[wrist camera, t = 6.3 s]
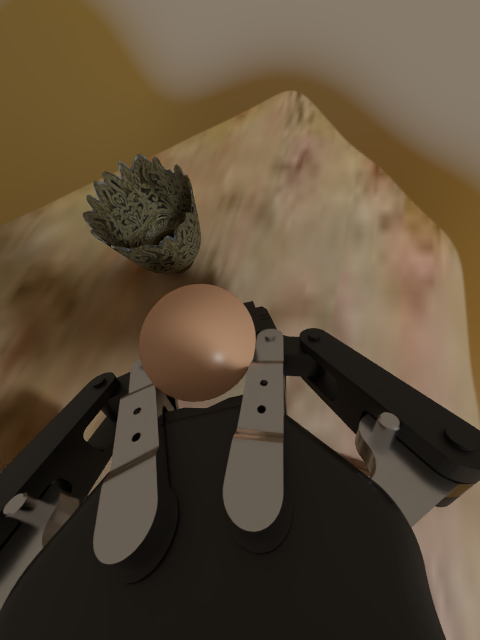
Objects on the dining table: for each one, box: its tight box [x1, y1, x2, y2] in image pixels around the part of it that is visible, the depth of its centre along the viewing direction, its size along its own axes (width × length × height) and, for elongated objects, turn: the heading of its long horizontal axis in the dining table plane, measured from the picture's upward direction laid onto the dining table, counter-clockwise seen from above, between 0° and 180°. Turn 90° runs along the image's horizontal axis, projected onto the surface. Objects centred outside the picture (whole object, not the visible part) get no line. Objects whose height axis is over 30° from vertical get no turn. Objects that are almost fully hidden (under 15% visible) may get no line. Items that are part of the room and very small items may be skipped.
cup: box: [83, 154, 201, 274], centre depth 17 cm, size 8×7×8 cm
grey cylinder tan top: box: [139, 284, 256, 402], centre depth 12 cm, size 4×4×10 cm
